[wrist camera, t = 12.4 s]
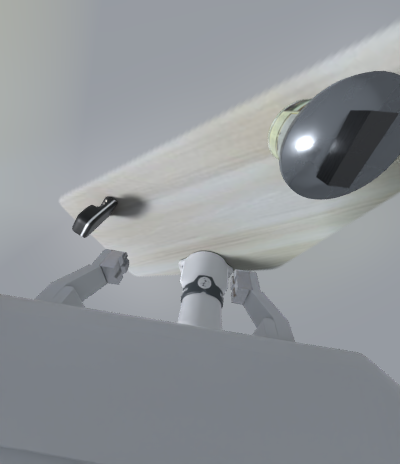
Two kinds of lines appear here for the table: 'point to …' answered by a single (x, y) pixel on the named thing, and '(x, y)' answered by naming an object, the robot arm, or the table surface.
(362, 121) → the lid
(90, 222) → the battery charger
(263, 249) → the table surface
